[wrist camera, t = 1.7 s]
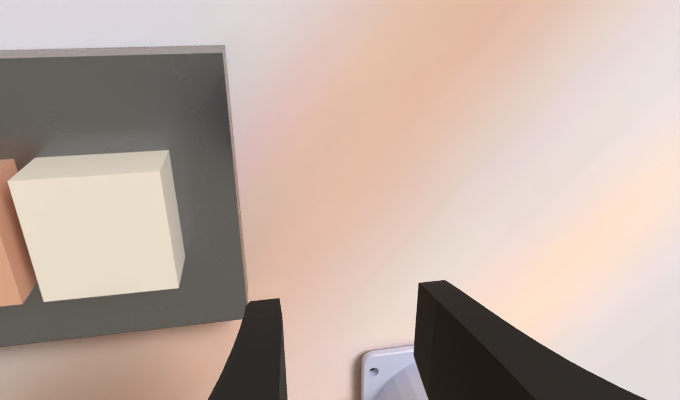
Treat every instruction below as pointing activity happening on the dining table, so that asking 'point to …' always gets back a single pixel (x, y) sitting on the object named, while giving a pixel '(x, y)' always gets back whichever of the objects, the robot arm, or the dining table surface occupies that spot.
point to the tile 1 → (12, 246)
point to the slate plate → (133, 136)
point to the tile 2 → (100, 223)
